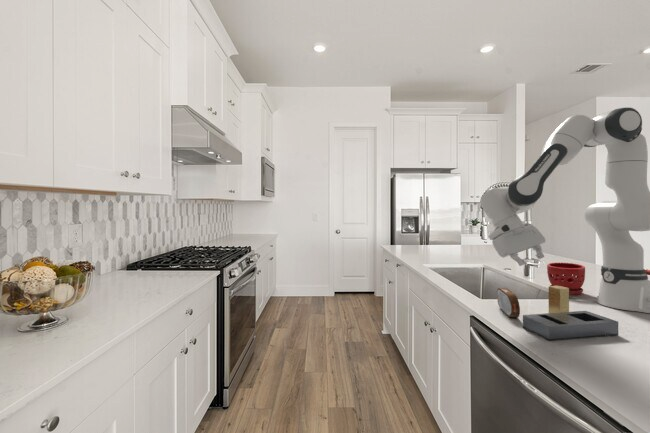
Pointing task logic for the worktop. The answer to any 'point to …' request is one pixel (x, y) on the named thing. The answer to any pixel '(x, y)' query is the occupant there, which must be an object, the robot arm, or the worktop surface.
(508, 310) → the tin
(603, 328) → the block
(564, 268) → the plant pot
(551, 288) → the tan rectangular block
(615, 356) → the worktop surface
